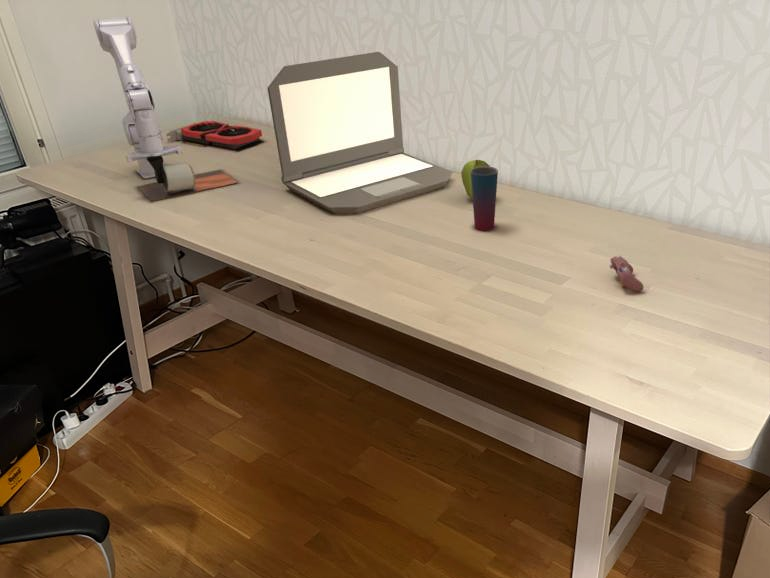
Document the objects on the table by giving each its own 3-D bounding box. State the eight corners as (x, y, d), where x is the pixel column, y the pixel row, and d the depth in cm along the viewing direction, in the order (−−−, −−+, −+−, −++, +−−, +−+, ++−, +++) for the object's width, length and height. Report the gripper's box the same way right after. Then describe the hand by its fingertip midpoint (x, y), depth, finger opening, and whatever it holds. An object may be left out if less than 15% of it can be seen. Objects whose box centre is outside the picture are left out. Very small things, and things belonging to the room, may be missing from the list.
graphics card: (223, 156, 231) (221, 144, 229) (163, 141, 245) (160, 130, 243) (268, 141, 245) (266, 130, 242) (209, 128, 259) (206, 117, 257)
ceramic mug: (198, 190, 202) (194, 164, 199) (169, 195, 198) (164, 168, 194) (186, 182, 210) (182, 156, 206) (158, 186, 205) (153, 159, 201)
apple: (465, 193, 200) (465, 154, 194) (494, 195, 199) (494, 155, 192) (458, 204, 193) (457, 163, 187) (488, 206, 192) (488, 165, 185)
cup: (500, 224, 181) (501, 167, 173) (492, 233, 176) (493, 176, 168) (476, 220, 183) (475, 165, 175) (467, 230, 178) (466, 173, 170)
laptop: (340, 221, 184) (323, 88, 165) (283, 190, 203) (262, 69, 185) (463, 183, 207) (461, 64, 189) (402, 159, 227) (394, 49, 208)
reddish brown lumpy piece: (615, 279, 158) (604, 255, 154) (633, 270, 157) (622, 245, 153) (626, 300, 150) (614, 274, 146) (645, 291, 149) (635, 265, 145)
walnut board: (137, 187, 207) (137, 186, 206) (220, 170, 219) (220, 169, 219) (151, 201, 196) (151, 200, 196) (237, 183, 209) (237, 182, 209)
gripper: (124, 141, 186) (138, 191, 194) (179, 133, 194) (190, 181, 201) (118, 136, 191) (132, 184, 199) (172, 128, 198) (183, 174, 206)
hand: (161, 182), depth 200 cm, fingers closed, pressing on ceramic mug
